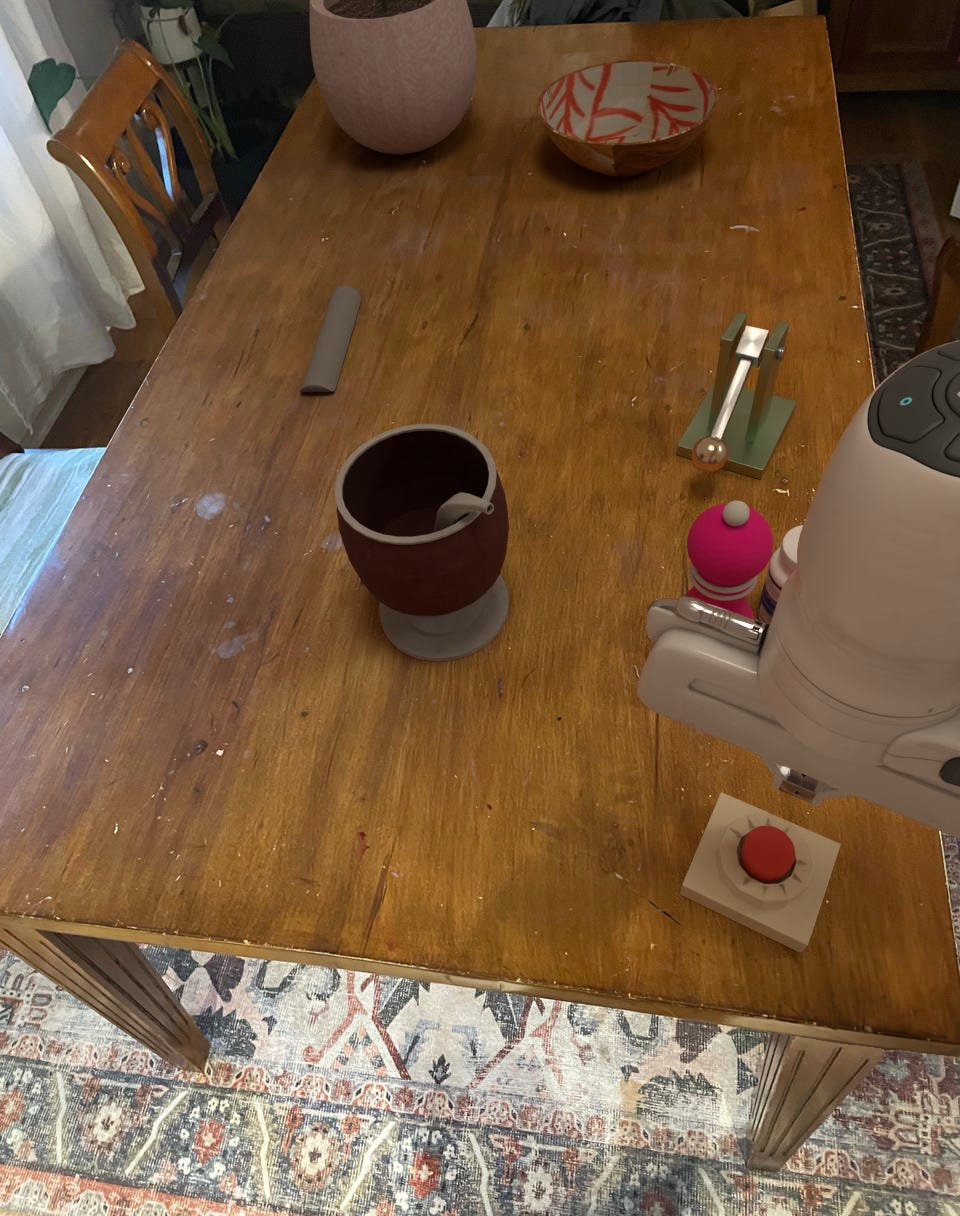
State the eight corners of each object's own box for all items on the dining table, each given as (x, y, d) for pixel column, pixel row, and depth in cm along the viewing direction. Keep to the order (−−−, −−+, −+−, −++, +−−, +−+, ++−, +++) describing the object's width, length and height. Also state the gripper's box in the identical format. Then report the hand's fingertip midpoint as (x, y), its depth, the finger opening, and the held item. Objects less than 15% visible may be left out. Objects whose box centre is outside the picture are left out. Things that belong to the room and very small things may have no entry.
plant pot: (320, 185, 129) (259, -54, 105) (349, 110, 143) (301, -117, 118) (476, 178, 126) (450, -70, 101) (491, 102, 139) (471, -133, 115)
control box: (833, 854, 63) (847, 834, 60) (801, 953, 60) (813, 938, 56) (717, 802, 66) (724, 781, 63) (679, 894, 63) (684, 876, 59)
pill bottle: (826, 597, 77) (854, 525, 68) (820, 649, 73) (848, 579, 65) (760, 585, 78) (780, 513, 70) (751, 636, 75) (772, 566, 67)
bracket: (760, 480, 86) (785, 378, 75) (675, 454, 89) (688, 354, 78) (794, 411, 91) (821, 307, 80) (713, 390, 94) (729, 287, 84)
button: (796, 847, 60) (801, 838, 59) (781, 890, 59) (786, 882, 57) (749, 826, 61) (753, 817, 60) (733, 867, 60) (737, 859, 58)
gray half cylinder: (299, 397, 100) (295, 385, 99) (331, 297, 111) (328, 285, 110) (333, 397, 100) (330, 384, 98) (362, 296, 111) (359, 284, 109)
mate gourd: (342, 613, 81) (281, 463, 65) (445, 528, 86) (412, 368, 70) (456, 707, 74) (419, 565, 58) (561, 608, 79) (555, 451, 63)
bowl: (732, 126, 127) (740, 67, 121) (680, 214, 115) (686, 154, 108) (575, 108, 135) (575, 52, 129) (511, 189, 123) (507, 132, 116)
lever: (721, 480, 82) (719, 470, 79) (688, 470, 83) (684, 460, 80) (775, 344, 82) (775, 329, 79) (741, 336, 83) (739, 321, 80)
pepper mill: (665, 622, 77) (686, 463, 61) (747, 629, 75) (792, 469, 59) (659, 690, 73) (681, 540, 57) (747, 700, 71) (794, 549, 55)
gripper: (625, 633, 41) (613, 757, 52) (1098, 816, 34) (967, 915, 45) (674, 542, 44) (653, 678, 55) (1118, 694, 37) (991, 815, 48)
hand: (797, 786), depth 50 cm, fingers closed
